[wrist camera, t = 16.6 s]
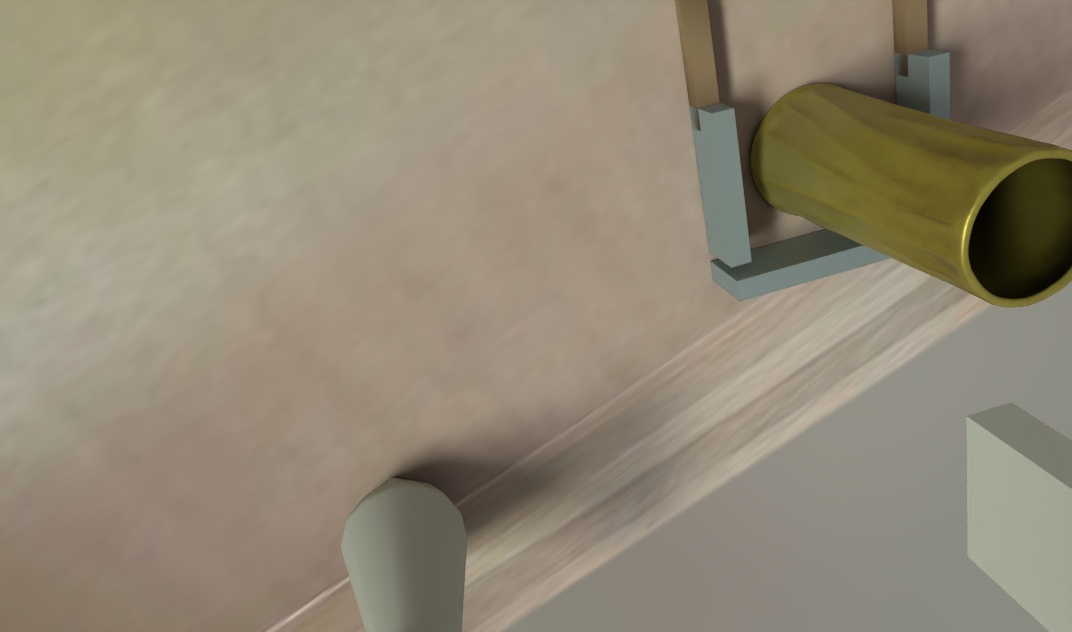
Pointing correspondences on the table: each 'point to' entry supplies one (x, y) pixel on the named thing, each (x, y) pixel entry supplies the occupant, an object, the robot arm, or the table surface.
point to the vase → (922, 190)
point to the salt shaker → (407, 558)
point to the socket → (806, 253)
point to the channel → (701, 56)
